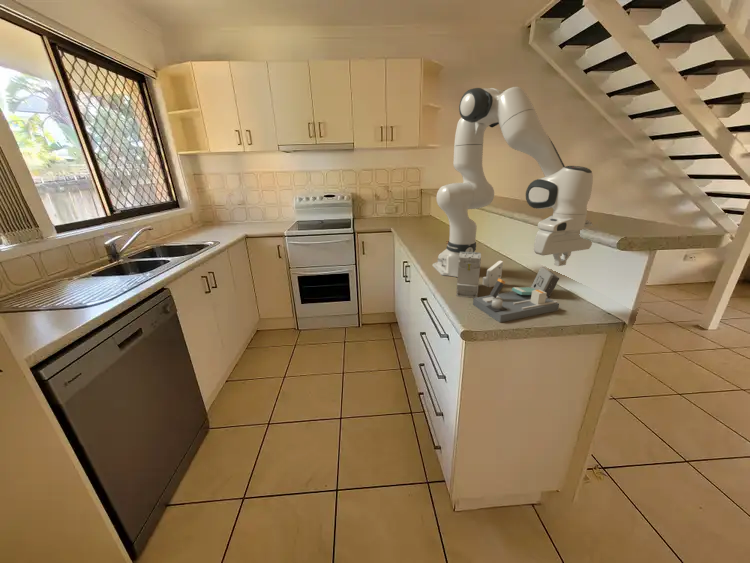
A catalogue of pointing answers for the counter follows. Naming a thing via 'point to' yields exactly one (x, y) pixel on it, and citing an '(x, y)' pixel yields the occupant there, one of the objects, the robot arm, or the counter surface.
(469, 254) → the circuit breaker
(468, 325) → the counter surface
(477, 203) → the robot arm
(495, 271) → the white angled block
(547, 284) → the electrical switch
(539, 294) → the cream cube orange stripe
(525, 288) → the teal tile cream strip
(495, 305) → the button
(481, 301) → the panel
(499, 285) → the toggle lever
